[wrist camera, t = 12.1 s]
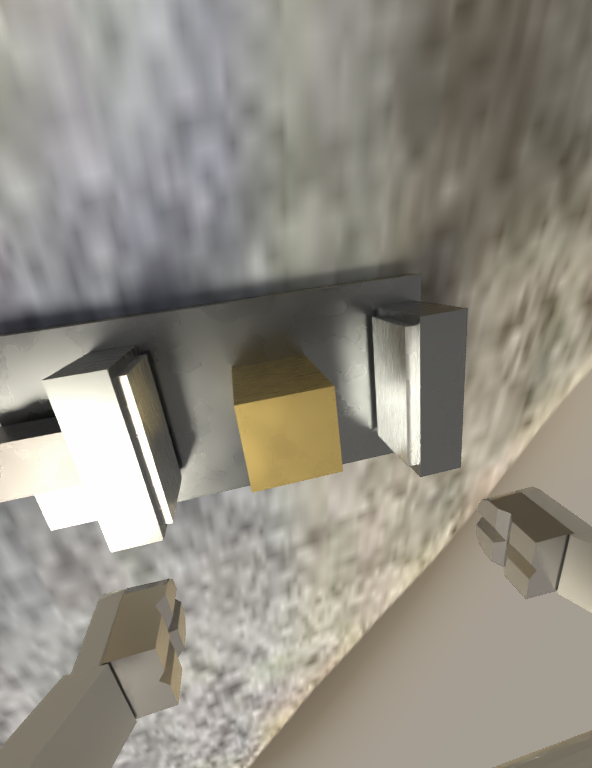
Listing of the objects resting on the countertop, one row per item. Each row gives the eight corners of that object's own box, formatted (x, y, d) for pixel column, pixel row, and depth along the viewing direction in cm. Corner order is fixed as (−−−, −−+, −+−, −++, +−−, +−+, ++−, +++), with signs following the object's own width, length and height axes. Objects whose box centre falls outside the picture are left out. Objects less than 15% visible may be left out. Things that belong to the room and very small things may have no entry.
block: (231, 368, 20) (233, 405, 14) (305, 355, 21) (334, 385, 15) (245, 435, 22) (252, 492, 16) (313, 421, 22) (342, 471, 17)
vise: (-18, 336, 18) (-137, 368, 12) (408, 273, 22) (478, 274, 16) (61, 514, 22) (1, 604, 16) (410, 436, 26) (467, 487, 20)
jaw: (-69, 378, 17) (-179, 417, 12) (146, 343, 19) (119, 367, 14) (5, 519, 20) (-61, 594, 16) (184, 480, 22) (173, 537, 17)
